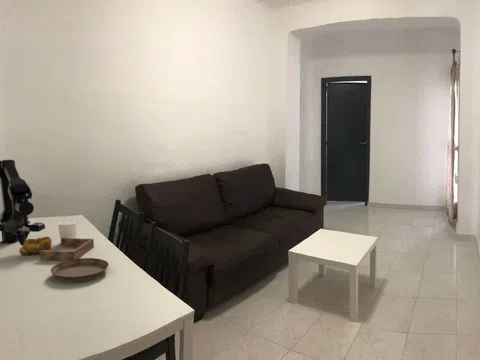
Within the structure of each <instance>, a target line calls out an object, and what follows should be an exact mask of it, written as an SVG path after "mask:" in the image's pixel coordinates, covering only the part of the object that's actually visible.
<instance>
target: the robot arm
mask: <svg viewBox="0 0 480 360" xmlns="http://www.w3.org/2000/svg"><path fill="white" fill-rule="evenodd" d="M0 192H1V200H2V201H1V203H2V211H1V212H0V232H1V241H0V242H3V243H2V244H14V243H16V242H19V245H20V247H23V246H24V242H25V241H26V240H27V239H28V237H29V235H30V233H31V232H32V233H38V232H41V231H42V230H45V229H46V225H45V223H44V222H34V223H32V224H31V221H29V215H31V214H32V213H33V212H34V209H35V207H34V204H33V203H31V202H30V201H29V200H32V198H33V197H32V196H33V193H32V190H31V187H30V186H29V184H27V181H26V180H25V179H22V178H21V176H20V175H19V172H18V169H17V168H16V161H15V160H14V159H1V160H0Z"/></svg>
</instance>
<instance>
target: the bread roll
mask: <svg viewBox="0 0 480 360" xmlns="http://www.w3.org/2000/svg"><path fill="white" fill-rule="evenodd" d="M41 250H49V251H52V238H51V237H50V236H44V237H41V236H40V237H36V238H27V239H26V241H25V242H24V246H20V248H19V251H18V253H19V254H20V255H22V256H35V255H38V256H40V251H41Z"/></svg>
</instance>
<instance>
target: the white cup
mask: <svg viewBox="0 0 480 360" xmlns="http://www.w3.org/2000/svg"><path fill="white" fill-rule="evenodd" d="M58 234H59V238H60V239H59V240H60V241H61V238H77V221H75V220H65V221H60V222H58Z"/></svg>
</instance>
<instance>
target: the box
mask: <svg viewBox="0 0 480 360" xmlns="http://www.w3.org/2000/svg"><path fill="white" fill-rule="evenodd" d="M60 244H61V245H60V246H61V248H76V249H74V250H50V251H49V250H41V251H40V255H39V261H54V262H55V261H57V262H64V261H68V260H73V259H81V258H82V257H83V256H84V255H86V254H87V253H88V252H89V251H90V250H92V249H93V248H95V244H94V238H77V237H76V238H61V240H60Z"/></svg>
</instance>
